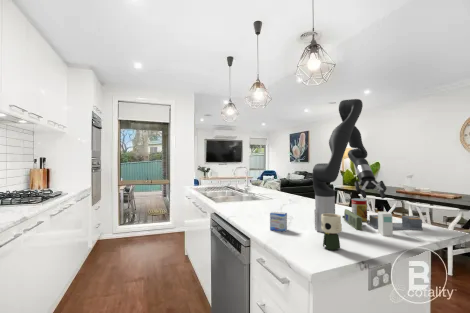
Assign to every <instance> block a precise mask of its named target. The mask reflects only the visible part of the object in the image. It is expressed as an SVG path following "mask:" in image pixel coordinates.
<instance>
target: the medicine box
mask: <svg viewBox="0 0 470 313" xmlns="http://www.w3.org/2000/svg"><path fill="white" fill-rule="evenodd" d="M269 230H270V231H273V230H275V231H276V232H283V231H285V232H287V230H288V212H278V211H271V212H270V213H269ZM275 231H274V232H275Z"/></svg>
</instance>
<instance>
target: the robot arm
mask: <svg viewBox="0 0 470 313" xmlns="http://www.w3.org/2000/svg"><path fill="white" fill-rule="evenodd" d="M338 104H339V105H338V113H339V116H340V119H341V121H342V122H341V123H339V124H338V125H337V126H336V127H335V128H334V129H333V130H332V133H331V135H330V136H329V139H328V146H329V149H330V152H331V155H330V160H329V161H328V163H323V162H322V163H316V164H315V165H314V166H313V169H312V182H313V183H312V186H313V187H312V188H313V190H314V201H315V202H314V207H315V208H314V229H315V231H316V232H320V233H325V232H324V231H322V228H321V226H322V223H321V215H322V214H326V213H330V214H336V196H335V195H336V193H335V190H334V189H333V188H331V187H330V186H328V185H327V183H334V182H335V181H336V180H337V179H338V177H339V173H340V169H341V165H342V161H343V158H344V155H345V151H346V150H347V147H348V145H349V147H350V148H352V149H350V150H349V151H348V152H347V157H348V159H349V160H350V161H351V163H352V164H353V165H354V167H355V170H356V174H357V177H358V180H355V182H354V186H355V187H354V188H355V191H356V192H357V193H360V195H361V197H362V198H363V199H366V198H367V194H366V190H374V191H377V192H378V193H379V195H380V197H381V199H384V198H385V197H386V194H385V192H386V191H387V186H386V184H385V182H384V181H383V180H380V181H377V180H376V177H375V175H374V173H373V170H372V168H371V166H370V164H369V162H368V160H367V159H366V158H367V157H368V155H369V154H368V151H367V149H366V147H365V146H364V143H363V139H362V134H361V131H360V130H359V129H358V127H357V126H356V123H357V121H358V119H359V118H360V116H361V113H362V111H363V106H364V105H363V101H362V100H361V99H359V98H354V99H353V98H352V99H343V100H341V101H340V102H339V103H338ZM360 185H361V187H360Z"/></svg>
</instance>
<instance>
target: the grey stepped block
mask: <svg viewBox="0 0 470 313" xmlns="http://www.w3.org/2000/svg"><path fill="white" fill-rule="evenodd" d="M366 224H367V225H368V226H370V227H372V229H377V230H378V214H369V221H366ZM392 225H393V230H405V231H407V230H408V231H423V230H424V228H423V219H422V218H420V217H416V216H413V215H402V216H401V222H392Z"/></svg>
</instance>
